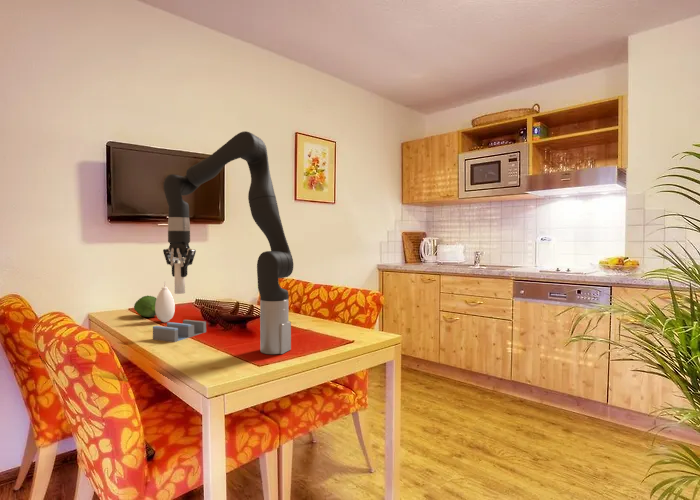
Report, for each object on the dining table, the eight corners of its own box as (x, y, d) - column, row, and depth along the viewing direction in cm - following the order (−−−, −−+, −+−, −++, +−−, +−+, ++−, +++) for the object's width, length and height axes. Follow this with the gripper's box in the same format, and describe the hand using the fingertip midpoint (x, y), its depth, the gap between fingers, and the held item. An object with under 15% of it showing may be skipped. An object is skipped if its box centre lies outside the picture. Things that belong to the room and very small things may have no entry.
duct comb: (206, 334, 154) (206, 320, 154) (174, 344, 139) (174, 328, 139) (185, 332, 158) (185, 318, 158) (152, 342, 143) (152, 326, 143)
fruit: (128, 316, 188) (128, 295, 188) (149, 313, 196) (149, 292, 196) (144, 320, 179) (144, 298, 179) (165, 316, 187) (165, 295, 187)
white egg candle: (178, 321, 177) (177, 281, 176) (160, 324, 171) (159, 282, 170) (169, 319, 182) (169, 280, 181) (152, 322, 176) (151, 281, 175)
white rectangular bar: (187, 292, 149) (186, 263, 148) (179, 293, 145) (179, 263, 145) (179, 292, 150) (179, 262, 150) (172, 293, 147) (172, 263, 146)
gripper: (201, 230, 148) (201, 276, 148) (172, 230, 153) (172, 275, 153) (186, 229, 141) (186, 278, 141) (156, 229, 146) (156, 276, 146)
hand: (179, 276), depth 147 cm, fingers closed on white rectangular bar, 3 cm apart
